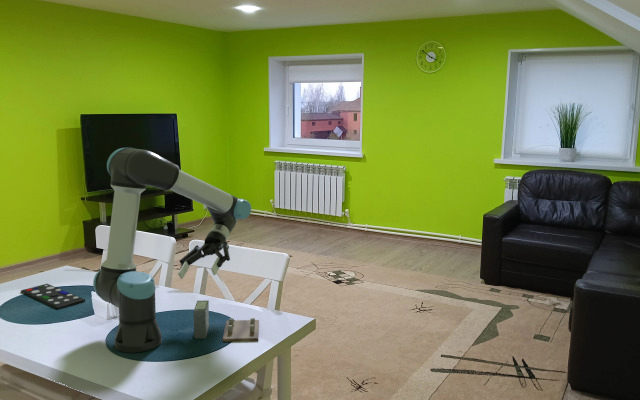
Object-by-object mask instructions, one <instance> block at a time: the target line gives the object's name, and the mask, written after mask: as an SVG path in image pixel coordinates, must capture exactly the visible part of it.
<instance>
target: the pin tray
mask: <svg viewBox="0 0 640 400" xmlns="http://www.w3.org/2000/svg"><path fill="white" fill-rule="evenodd" d="M259 326H260V320H259V319H256V318H255V317H252V318H250V319H247V320H246V319H245V320H244V319H238V320H237V319H236V320H235V319H234V318H231V317H230V318H229V319H228V320H226V321H225V326H224V330H223V336H222V342H223V341H225V342H259V334H260V333H259V331H260V327H259Z"/></svg>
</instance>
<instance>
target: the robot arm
mask: <svg viewBox="0 0 640 400" xmlns="http://www.w3.org/2000/svg"><path fill="white" fill-rule="evenodd" d="M106 170H107V172H108V175H109V176H110V177H111V178H110V186H111V188H112V189H113V191H114V193H113V201H112V210H111V211H112V212H111V219H110V225H109V226H110V228H109V235H108V243H107V244H108V245H107V254H106V259H105V260H104V261H103V262H101V264H100V269H99V270H98V272H96V273H95V275H94V278H93V281H92V282H93V283H92V285H93V290H94V292H95V294H96V296H98V297H99V298H100V299H101V300H103V301H104V302H106V303H108V304H110V303H111V304H110V305H113V306H114V307H117V308H118V326H117V328H116V329H117V330H116V332H115V337H114V338H113V339H114V348H115V349H116V350H117V351H118V352H119V351H120V352H122V353H129V354H130V353H131V354H132V353H133V354H134V353H142V352H147V351H150V350H153V349H155V348H157V347H159V346H160V345H161V344H162V341H163V335H162V332H161V328H160V326H159V323H158V322H157V318H156V317H157V316H156V315H157V314H156V311H157V310H156V284H155V279H154V277H153V276H152V274H149V273H147V272H145V271H141V272H140V271H137V265H136V264H135V262H134V261H133V259H134V251H135V244H136V235H137V226H138V225H137V224H138V218H139V211H140V210H139V209H140V201H141V194H142V193H143V192H144V191H146V190H147V186H148V187H153V188H156V189H159V190H162V191H164V192H168V191H172V192H175V194H177V195H181V196H184V197H185V198H188V199H190V200H192V201H195V202H197V203H199V204H201V205H204V206H205V207H206V208H207V211H208V213H209V214H210V217H211V218H212V221H213V225H212V227H211V229H210V230H209V232H208V234H207V236H206V237H205V238H204V242H203V245H202V246H199V244H198V245H195V246H194V247H193V248H192V249H191V250H190V251H189V252H188V253H187V254H186V255H184V256H183V257H182V258H181V259H179V263H180V267H179V271H178V272H177V274H178V277H179V278H180V280H182V279H184V277H185V276H186V274H187V272H188V271H189V269H190V266H191V265H193V264H194V263H195V262H197V261H198V260H200V259H203V258H205V257H207V256H212V255H215V256H217V257H216V259H215V261H214V262H213V265H212V266H211V268H210V270H211V273H212V275H213V276H216V275H217V273H218V271H219V270H220V268H221V267H222V266H223V264H224V263H225V262H226V261H227V262H229V261H230V260H231V258H230V253H229V252H230V251H229V249H230V246H229V243H228V242H227V240H228V239H229V237H230V235H231V233H232V232H233V230H234V228H235V227H236V225H237V221H238V220H246V219H248V218H249V217H250V214H251V213H252V205H251V203H250V202H249V200H246V199H243V198H240V197H236V196H234V195H232V194H230V193H228V192H226V191H224V190H222V189H221V188H218V187H217V186H214V185H212V184H210V183H207V182H206V181H204V180H202V179H199V178H197V177H195V176H193V175H191V174H189V173H187V172H184V171H183V170H182V169H180V167H179V165H177V164H175V163H173V162H172V161H169V160H168V159H166V158H164V157H162V156H160V155H159V154H157V153H155V152H152V151H150V150H147V149H140V148H139V149H138V148H133V147H122V148H118V149H116V150H114V151H113V152H112V153H111V154H110V155H109V157H108V159H107V162H106ZM222 250H223V254H224V255H223V254H222V253H221V252H220V251H222Z"/></svg>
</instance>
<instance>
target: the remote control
mask: <svg viewBox="0 0 640 400" xmlns="http://www.w3.org/2000/svg"><path fill="white" fill-rule="evenodd" d="M20 293H22V294H24V295H26V296H28V297H29V298H33V299H34V300H36V301H39V302H41V303H43V304H46V305H48V306H50V307H52V308H54V309H57V310H62V309H65V308H70V307H71V306H76V305H78V304H79V305H80V304H82V303H85V302H86V299H85V298H83V297H79V296H78V295H75V294H73V293H70V292H68V291H66V290H63V289H62V288H59V287H56V286H54V285H51V284H49V283H44V284H41V285H36V286H32V287H28V288H24V289H20Z"/></svg>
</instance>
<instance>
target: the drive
mask: <svg viewBox="0 0 640 400" xmlns="http://www.w3.org/2000/svg"><path fill="white" fill-rule="evenodd" d="M209 314H210V310H209V300H197V301H196V303H195V306H194V309H193V339H194V338H195V339H207V336H208V332H209V328H210V327H209V326H210V315H209Z"/></svg>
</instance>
